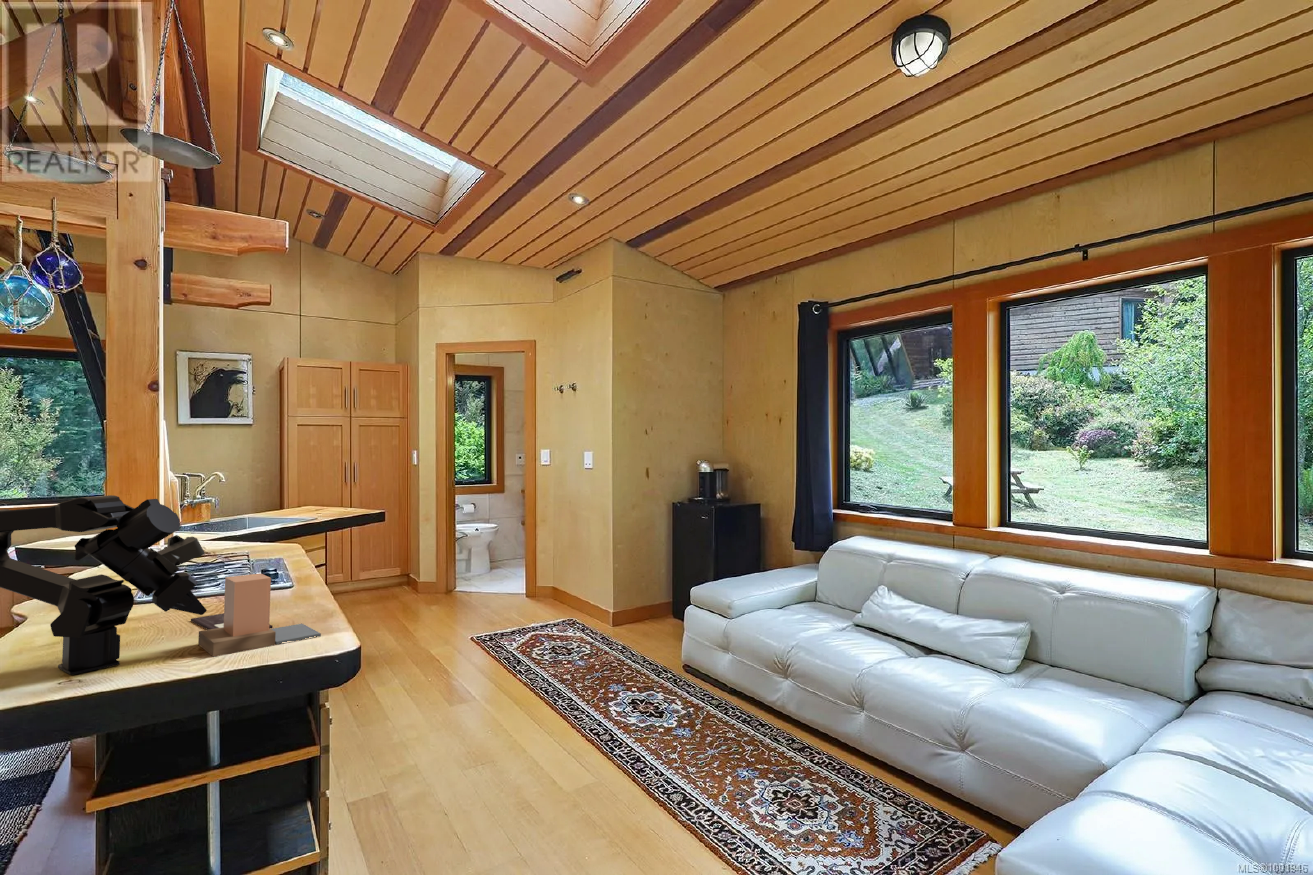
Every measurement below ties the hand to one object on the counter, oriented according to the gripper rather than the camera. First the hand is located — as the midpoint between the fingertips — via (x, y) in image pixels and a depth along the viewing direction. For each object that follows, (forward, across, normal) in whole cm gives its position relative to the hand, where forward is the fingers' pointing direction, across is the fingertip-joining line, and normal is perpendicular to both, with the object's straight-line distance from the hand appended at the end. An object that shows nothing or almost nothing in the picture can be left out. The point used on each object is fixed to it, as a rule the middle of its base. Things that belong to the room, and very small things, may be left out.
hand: (204, 612), depth 118 cm
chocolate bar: (+12, +16, -1) cm, 20 cm away
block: (+8, 0, -2) cm, 8 cm away
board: (+9, 0, +1) cm, 9 cm away
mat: (+15, 0, -5) cm, 16 cm away
